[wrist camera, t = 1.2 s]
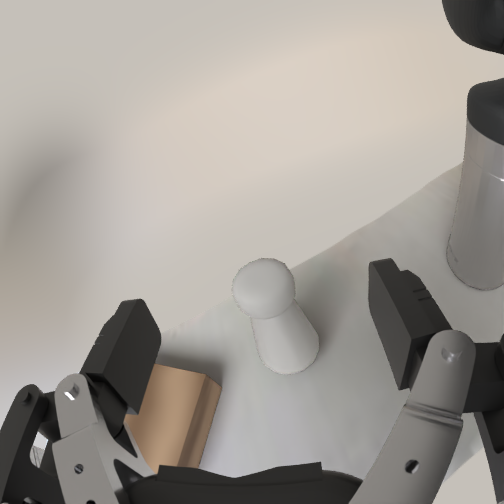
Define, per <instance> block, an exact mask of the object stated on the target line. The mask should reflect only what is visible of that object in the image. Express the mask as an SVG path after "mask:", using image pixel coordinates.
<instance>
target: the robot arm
mask: <svg viewBox="0 0 504 504" xmlns="http://www.w3.org/2000/svg"><path fill="white" fill-rule="evenodd" d="M442 4H443V8H444V11H445V15H446V17H447V20H448V22H449V24H450V26H451V28H452V29H453V31H454V32H455V34H456V35H457V36H458V37H459V38H460V39H461V40H462V41H464V42H466V43H467V44H469V45H472V46H475V47H477V48H480V49H483V50H487V51H492V52H496V53H500V54H503V55H504V0H442ZM447 260H448V262H449V265H450V267H451V269H452V271H453V272H454V273H455V274H456V276H457V277H458V278H459V279H461V280H462V281H463V282H464V283H466V284H468V285H469V286H471V287H474V288H477V289H483V290H489V289H494V288H497V287H499V286H501V285H502V284H503V283H504V78H501V79H498V80H494V81H488V82H483V83H479V84H476V85H474V86H473V87H472V88H471V89H470V90H469V93H468V98H467V126H466V141H465V152H464V161H463V169H462V176H461V183H460V190H459V196H458V201H457V207H456V212H455V217H454V222H453V226H452V231H451V234H450V238H449V244H448V248H447ZM368 299H369V308H370V313H371V316H372V318H373V321H374V323H375V326H376V329H377V331H378V334H379V336H380V339H381V342H382V344H383V347H384V350H385V352H386V355H387V358H388V361H389V363H390V366H391V369H392V372H393V375H394V378H395V381H396V384H397V387H398V390H403V389H406V388H410V391H411V393H410V395H409V397H408V400H407V402H406V404H405V405H404V406H403V408H402V411H401V413H400V415H399V417H398V419H397V421H396V423H395V425H394V427H393V429H392V431H391V433H390V435H389V437H388V439H387V441H386V443H385V445H384V447H383V448H382V450H381V452H380V454H379V456H378V457H377V459H376V461H375V463H374V464H373V466H372V468H371V469H370V471H369V473H368V474H367V476H366V478H365V479H364V481H363V480H361V479H359V478H357V477H354V476H352V475H349V474H345V473H342V472H336V471H329V470H322V466H321V462H316V463H309V464H301V465H291V466H280V467H275V468H272V469H269V470H265V471H261V472H258V473H254V474H250V475H246V476H242V477H237V478H231V477H227V476H223V475H219V474H215V473H211V472H208V471H204V470H201V469H197V468H192V467H178V466H167V465H159V468H158V473H157V474H155V473H154V472H153V470H152V469H151V468H150V467H149V466H148V465H147V463H146V462H145V460H144V458H143V456H142V454H141V452H140V450H139V448H138V445H137V443H136V441H135V439H134V437H133V435H132V432H131V430H130V428H129V425H128V424H127V422H126V421H125V420H124V419H125V416H126V414H131V415H139V412H140V408H141V405H142V402H143V398H144V395H145V392H146V388H147V385H148V382H149V379H150V376H151V373H152V369H153V366H154V363H155V360H156V357H157V354H158V351H159V348H160V345H161V333H160V330H159V328H158V326H157V324H156V322H155V320H154V318H153V317H152V315H151V313H150V311H149V309H148V307H147V305H146V303H145V302H144V300H142V299H134V300H127V301H122V302H121V304H120V305H119V307H118V309H117V311H116V313H115V315H113V316H112V317H111V318H110V320H108V321H107V322H106V324H104V326H103V328H102V330H101V332H100V334H99V337H98V338H97V339H96V341H95V345H93V347H92V349H91V351H90V353H89V355H88V357H87V359H86V361H85V362H84V365H83V367H82V369H81V371H80V373H79V374H72V375H69V376H67V377H66V378H65V379H63V380H62V381H61V382H60V383H59V384H58V386H57V388H56V390H55V391H53V392H49V393H43V392H42V391H41V390H40V389H39V388H38V387H37V386H36V385H34V384H30V385H27V386H25V387H23V388H22V389H21V390H20V391H19V392H18V394H17V395H16V397H15V399H14V401H13V403H12V405H11V407H10V410H9V412H8V414H7V416H6V418H5V421H4V423H3V425H2V428H1V430H0V504H432V503H433V500H434V499H435V497H436V494H437V492H438V490H439V488H440V486H441V484H442V481H443V479H444V477H445V475H446V472H447V470H448V467H449V465H450V462H451V460H452V457H453V454H454V452H455V449H456V446H457V443H458V440H459V437H460V434H461V431H462V427H463V420H461V415H462V413H472V412H473V413H474V416H475V419H476V422H477V425H478V428H479V431H480V435H481V438H482V441H483V445H484V448H485V452H486V456H487V460H488V463H489V467H490V472H491V476H492V480H493V485H494V490H495V495H496V501H497V504H504V334H503V335H502V337H501V340H500V342H494V343H474V342H473V341H472V339H471V338H470V337H469V336H468V335H466V334H465V333H463V332H460V331H457V330H453V329H452V328H451V326H450V325H449V323H448V321H447V320H446V318H445V316H444V315H443V313H442V311H441V310H440V308H439V307H438V305H437V304H436V302H435V300H434V299H433V298H432V296H431V294H430V293H429V291H428V290H426V287H425V285H424V284H423V282H422V281H421V279H420V278H419V277H418V276H416V275H415V274H413V273H412V272H410V271H409V270H405V271H400V270H399V268H398V267H397V265H396V264H395V262H394V261H393V259H391V258H388V259H383V260H378V261H373V262H370V263H369V296H368ZM37 432H40V433H41V434H42V435H43V436H44V437H46V438H47V439H48V442H47V445H46V448H45V451H44V454H43V457H42V461H41V464H40V467H39V468H38V467H36V466H35V465H34V464H33V463H32V462H31V459H30V451H31V448H32V445H33V443H34V440H35V437H36V434H37Z"/></svg>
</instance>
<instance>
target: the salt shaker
mask: <svg viewBox="0 0 504 504" xmlns="http://www.w3.org/2000/svg"><path fill="white" fill-rule="evenodd" d="M232 294H233V297H234V299H235V301H236V303H237V305H238V307H239V308H240V310H241V311H242V312H244V313H245V314H247V315H248V316H250V318H251V323H252V328H253V332H254V337H255V341H256V346H257V350H258V354H259V356H260V358H261V360H262V362H263V364H264V365H265V366H267V367H268V368H269V369H271V370H272V371H274V372H275V373H279V374H287V375H291V374H294V373H297V372H302V371H303V370H304V369H306V368H307V367H308V366H309V365H310V364H312V363H313V362H314V360H315V357H316V355H317V353H318V351H319V338H318V334H317V332H316V331H315V329H314V328H313V326H312V325H311V323H310V322H309V320H308V319H307V317H306V316H305V314H304V313H303V311H302V310H301V308H300V307H299V305H298V304H297V302H296V301H295V299H294V297H295V282H294V277H293V275H292V274H291V272H290V271H289V269H288V268H287V266H286V265H285V263H282V262H280V261H278V260H276V259H268V258H261V259H258V260H255V261H252V262H250V263H248V264H247V265H245V266H244V267H243V268H241V269H240V270H239V272H238V273H237V274H236V276H235V278H234V279H233V284H232Z"/></svg>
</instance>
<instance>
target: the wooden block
mask: <svg viewBox="0 0 504 504" xmlns="http://www.w3.org/2000/svg"><path fill="white" fill-rule="evenodd" d="M221 390H222V387H220V386H219V385H218V384H217V383H216V382H214V381H213V380H212V379H211V378H210V377H209V376H207V375H206V374H202V373H197V372H192V371H187V370H182V369H177V368H172V367H168V366H164V365H159V364H155V363H154V366H153V369H152V373H151V376H150V379H149V382H148V385H147V388H146V392H145V395H144V398H143V402H142V405H141V408H140V412H139V415H131V414H126V416H125V419H124V420H125V421H126V422H127V424H128V425H129V428H130V430H131V432H132V435H133V437H134V439H135V441H136V443H137V445H138V448H139V450H140V452H141V454H142V456H143V458H144V460H145V462H146V463H147V465H148V466H149V467H150V468H151V469H152V470H153V472H154V473H155V474H157V473H158V468H159V465H167V466H178V467H192V468H197V469H198V467H199V463H200V460H201V457H202V453H203V450H204V447H205V443H206V440H207V437H208V433H209V430H210V427H211V423H212V420H213V417H214V413H215V410H216V407H217V403H218V400H219V396H220V393H221Z"/></svg>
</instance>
